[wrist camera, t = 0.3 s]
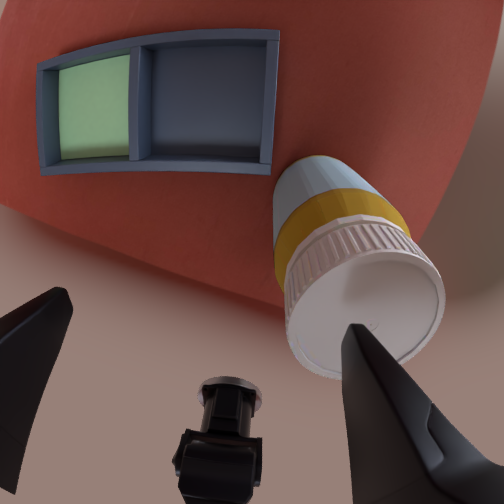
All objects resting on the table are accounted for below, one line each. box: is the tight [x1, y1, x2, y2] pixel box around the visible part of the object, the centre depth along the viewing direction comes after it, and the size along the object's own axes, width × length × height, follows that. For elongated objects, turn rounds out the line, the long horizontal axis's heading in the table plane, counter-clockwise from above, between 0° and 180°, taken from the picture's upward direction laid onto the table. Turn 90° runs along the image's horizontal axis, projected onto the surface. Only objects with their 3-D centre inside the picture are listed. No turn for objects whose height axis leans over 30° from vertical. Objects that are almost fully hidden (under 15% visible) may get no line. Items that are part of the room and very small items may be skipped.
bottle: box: [273, 155, 445, 380], centre depth 16 cm, size 7×7×15 cm
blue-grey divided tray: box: [36, 28, 280, 176], centre depth 19 cm, size 10×19×3 cm, turn 87°
